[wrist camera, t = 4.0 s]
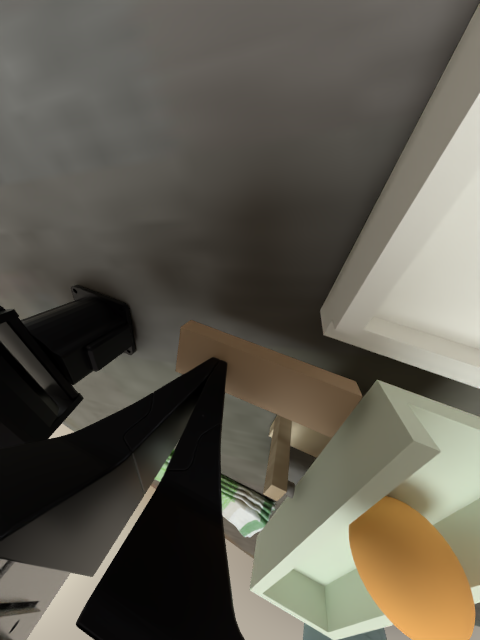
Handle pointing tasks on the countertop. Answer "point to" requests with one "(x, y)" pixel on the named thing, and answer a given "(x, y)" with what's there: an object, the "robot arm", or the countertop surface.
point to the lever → (348, 477)
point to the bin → (423, 239)
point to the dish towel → (239, 504)
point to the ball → (412, 572)
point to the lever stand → (278, 463)
